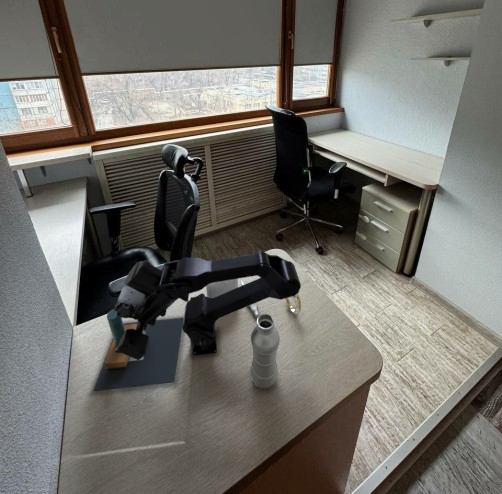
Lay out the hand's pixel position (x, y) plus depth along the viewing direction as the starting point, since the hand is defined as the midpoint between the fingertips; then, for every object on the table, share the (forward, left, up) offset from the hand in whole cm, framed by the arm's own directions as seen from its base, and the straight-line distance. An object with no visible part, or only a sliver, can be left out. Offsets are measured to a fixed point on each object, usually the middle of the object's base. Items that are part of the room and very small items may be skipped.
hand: (123, 333), depth 70 cm
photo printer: (-26, -12, -7) cm, 29 cm away
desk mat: (-4, 0, -7) cm, 8 cm away
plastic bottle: (-36, +10, -7) cm, 38 cm away
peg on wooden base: (+1, 0, -7) cm, 7 cm away
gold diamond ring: (-47, -7, -7) cm, 48 cm away
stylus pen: (-32, -10, -5) cm, 34 cm away
